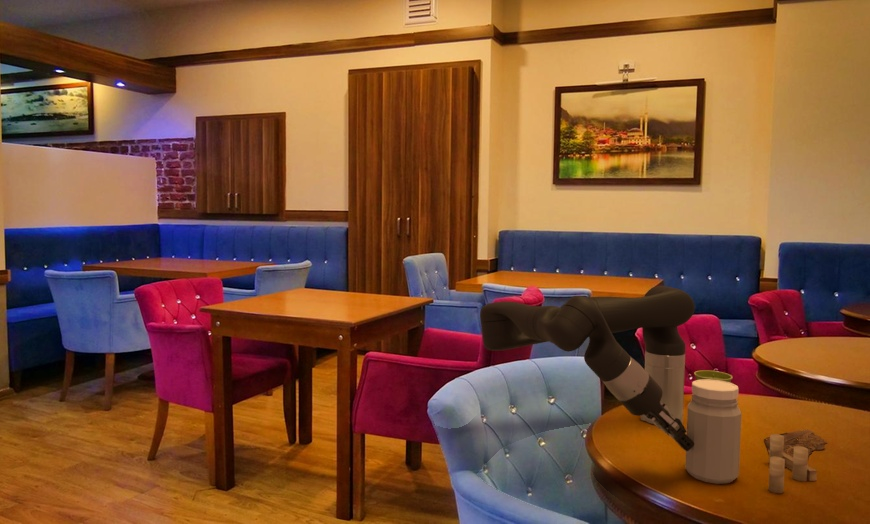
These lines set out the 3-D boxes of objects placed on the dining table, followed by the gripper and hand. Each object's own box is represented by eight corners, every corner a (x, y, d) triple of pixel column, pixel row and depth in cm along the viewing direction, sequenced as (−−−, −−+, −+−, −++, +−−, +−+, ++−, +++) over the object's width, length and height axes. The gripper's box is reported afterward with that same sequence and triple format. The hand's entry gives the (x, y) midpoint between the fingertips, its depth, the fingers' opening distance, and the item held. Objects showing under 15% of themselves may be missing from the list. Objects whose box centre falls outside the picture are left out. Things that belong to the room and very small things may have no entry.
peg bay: (774, 493, 116) (775, 461, 116) (717, 456, 134) (718, 428, 134) (833, 490, 117) (835, 459, 117) (769, 453, 136) (770, 426, 135)
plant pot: (731, 404, 172) (732, 372, 171) (731, 413, 163) (732, 380, 163) (693, 399, 176) (695, 368, 175) (692, 409, 167) (693, 376, 167)
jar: (712, 489, 118) (716, 393, 116) (673, 469, 127) (676, 380, 125) (750, 480, 122) (754, 388, 120) (710, 462, 131) (713, 376, 129)
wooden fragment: (800, 467, 129) (801, 462, 129) (745, 452, 137) (745, 447, 137) (840, 439, 146) (840, 434, 146) (789, 427, 154) (789, 423, 154)
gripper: (603, 389, 126) (659, 448, 129) (632, 409, 113) (693, 474, 116) (630, 362, 127) (685, 422, 129) (661, 379, 114) (722, 445, 116)
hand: (689, 446), depth 122 cm, fingers closed
